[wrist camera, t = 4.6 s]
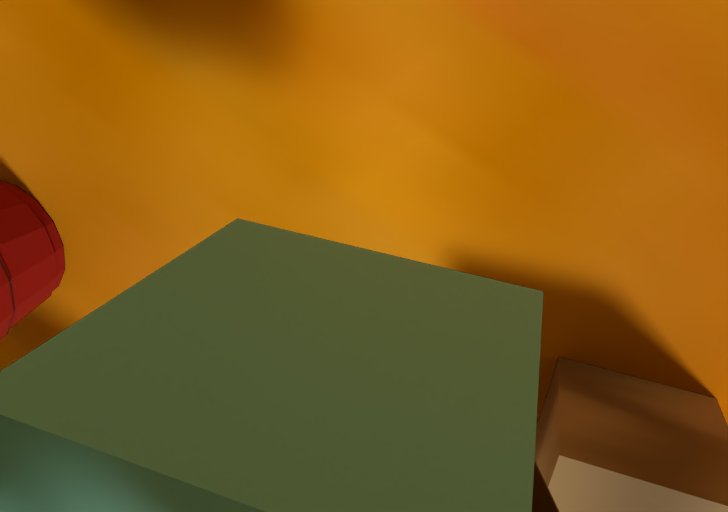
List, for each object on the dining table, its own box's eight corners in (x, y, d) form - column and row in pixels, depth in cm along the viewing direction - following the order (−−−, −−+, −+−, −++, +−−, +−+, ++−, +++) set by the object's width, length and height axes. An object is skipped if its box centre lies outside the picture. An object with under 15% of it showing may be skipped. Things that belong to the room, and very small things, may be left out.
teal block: (233, 444, 12) (34, 709, 7) (237, 218, 9) (-44, 398, 5) (475, 527, 10) (415, 903, 6) (543, 290, 8) (526, 606, 4)
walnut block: (524, 462, 22) (516, 575, 17) (559, 355, 20) (559, 455, 15) (663, 505, 21) (691, 638, 16) (715, 397, 18) (764, 517, 14)
